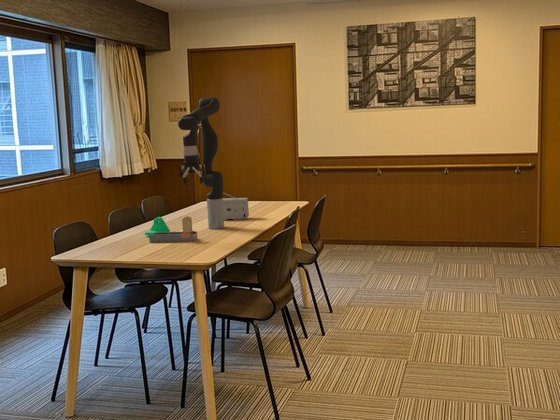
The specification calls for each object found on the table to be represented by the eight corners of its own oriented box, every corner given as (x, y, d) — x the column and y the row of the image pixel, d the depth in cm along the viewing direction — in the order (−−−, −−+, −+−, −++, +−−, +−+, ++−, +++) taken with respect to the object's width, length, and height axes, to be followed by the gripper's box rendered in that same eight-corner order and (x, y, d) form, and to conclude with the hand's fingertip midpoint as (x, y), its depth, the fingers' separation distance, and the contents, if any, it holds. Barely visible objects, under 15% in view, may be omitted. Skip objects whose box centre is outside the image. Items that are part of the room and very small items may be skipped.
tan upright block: (185, 235, 360) (184, 216, 359) (192, 235, 359) (191, 216, 358) (183, 237, 356) (181, 217, 355) (190, 237, 356) (189, 217, 354)
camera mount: (144, 237, 376) (143, 218, 375) (151, 234, 383) (150, 216, 382) (163, 237, 372) (162, 219, 370) (170, 234, 379) (169, 216, 378)
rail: (154, 239, 365) (154, 231, 365) (197, 238, 361) (196, 230, 361) (149, 242, 357) (148, 234, 357) (193, 241, 353) (192, 233, 353)
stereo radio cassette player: (249, 217, 428) (247, 186, 426) (247, 219, 420) (245, 187, 417) (216, 218, 430) (214, 187, 428) (214, 220, 422) (212, 189, 420)
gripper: (205, 152, 364) (208, 182, 366) (180, 154, 366) (182, 183, 369) (201, 154, 357) (204, 184, 359) (176, 155, 359) (178, 185, 361)
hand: (193, 184), depth 364 cm, fingers open, 8 cm apart
